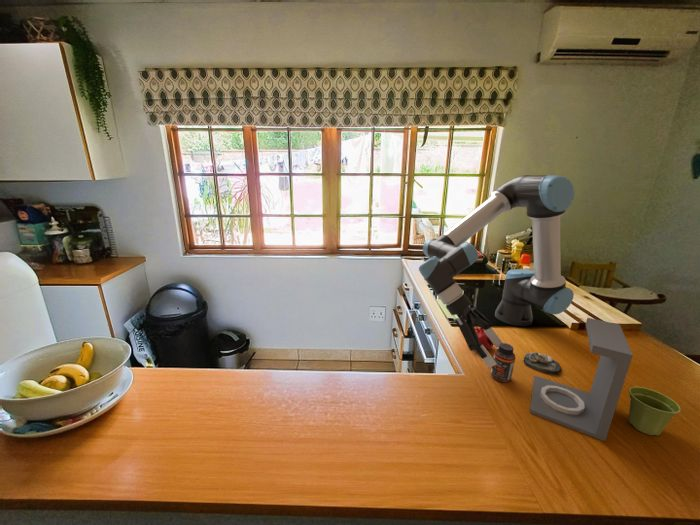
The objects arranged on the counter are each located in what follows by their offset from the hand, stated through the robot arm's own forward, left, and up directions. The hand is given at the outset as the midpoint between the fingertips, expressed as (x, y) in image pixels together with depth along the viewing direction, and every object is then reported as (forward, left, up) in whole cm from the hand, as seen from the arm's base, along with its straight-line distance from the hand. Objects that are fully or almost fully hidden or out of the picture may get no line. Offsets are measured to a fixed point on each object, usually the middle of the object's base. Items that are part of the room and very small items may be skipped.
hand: (496, 355), depth 94 cm
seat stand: (+2, +19, -8) cm, 21 cm away
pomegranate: (-16, -8, -8) cm, 20 cm away
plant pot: (-1, +36, -8) cm, 37 cm away
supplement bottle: (-1, +2, -8) cm, 8 cm away
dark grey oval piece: (-17, +13, -8) cm, 23 cm away
